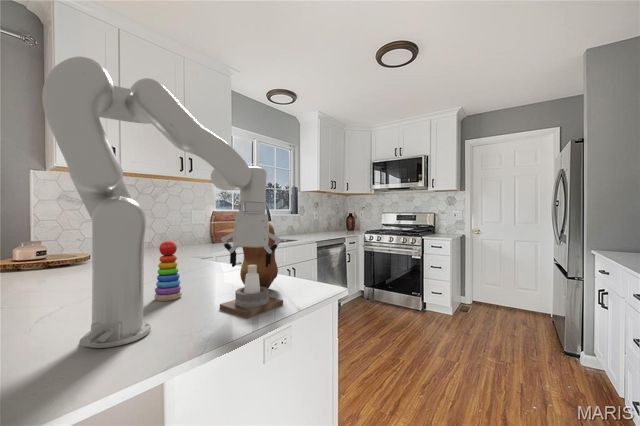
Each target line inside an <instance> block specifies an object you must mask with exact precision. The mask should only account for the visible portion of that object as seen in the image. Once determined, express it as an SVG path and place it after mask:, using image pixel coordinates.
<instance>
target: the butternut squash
mask: <svg viewBox="0 0 640 426" xmlns="http://www.w3.org/2000/svg"><path fill="white" fill-rule="evenodd" d="M269 233H271V234H273V235H275V236H276V234H275V233H276V232H275V228H274V227H273V224H272V223H271V222H269ZM274 243H275V240H273V239H271V238H269V242H268V245H269V247H270V248H271V247H272V246H273V245H274ZM241 248H242V253H243V260H242V261H243V262H242V264H241V267H240V273H239V275H240V280H241V282H242V283H243V285H244V286H245V278H246V274H247V273H248V265H257V273H258V274H259V283H260V286H261V287H266V288H268V289H270V287H271V285H272V284H273V282H274V280H275V279H276V278H277V277H278V272H279V270H278V269H279V268H278V264H277V260H276V249H275V250H274V251H273V252H272V253H271V264H268V267H266V253H267V251H266V250H265V248H264V247H241Z"/></svg>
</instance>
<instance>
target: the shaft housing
mask: <svg viewBox="0 0 640 426" xmlns="http://www.w3.org/2000/svg"><path fill="white" fill-rule="evenodd" d="M269 292H270V288H266V287H261V286H260V293H254V294H245V293H244V286H243V287H240V288H237V289H236V290H235V295H234V296H235V299H233V300H229V301H225V302H222V303H219V310H221V311H224V312H226V313H230V314H232V315H236V316H239V317H242V318H246V319H249V318H252V317H255V316H257V315H261V314H262V313H265V312H268V311H271V310H273V309H276V308H278V307H279V308H280V307H282V306H283V305H284V300H283V299H280V298H276V297H274V296H273V297H272V296H269V295H270V293H269Z"/></svg>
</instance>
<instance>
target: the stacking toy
mask: <svg viewBox="0 0 640 426" xmlns="http://www.w3.org/2000/svg"><path fill="white" fill-rule="evenodd" d="M158 248H159V249H158V250H159V253H160V254H161V256H160V257H159V264H158V270H157V274H158V275H157V277H156V279H157V281H156V283H155V285H156V288H155V290H154V292H155V295H153V296H154V300H156V301H158V302H167V301H169V302H170V301H174V300H177V299H179V298H180V297H181V296H182V295H183V292H182V291H181V289H182V287H181V285H180V284H181V279H180V274H179V267H177V266H178V262H177V260H178V258H177V257H178V256H177V255H175V253H176V252H177V249H178V248H177V244H176V243H175V242H174V241H172V240H165V241H163V242H161V244H160V245H159V247H158Z"/></svg>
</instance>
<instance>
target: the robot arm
mask: <svg viewBox="0 0 640 426" xmlns="http://www.w3.org/2000/svg"><path fill="white" fill-rule="evenodd" d="M42 87H43V88H42V96H41V97H42V107H43V108H42V109H43V111H44V114H45V118H46V121H47V124H48V125H49V128H50V130H51V133H52V135H53V137H54V140H55V142H56V143H57V146H58V148H59V151H60V152H61V154H62V157H63V158H64V161H65V163H66V166H67V168H68V172H69V173H68V174H69V177H70V179H71V181H72V183H73V185H74V187H75V189H76V191H77V193H78V195H79V197H80V199H81V200H82V203H83V205H84V207H85V210H86V211H87V213H88V215H89V217H90V218H91V220H92V222H91V226H92V231H91V232H92V241H91V242H92V243H91V245H92V246H91V248H92V249H91V253H92V255H91V259H92V261H91V270H92V271H91V272H92V273H91V275H92V276H91V277H92V279H91V281H92V282H91V283H92V285H91V287H92V288H91V289H92V290H91V293H92V294H91V295H92V296H91V310H92V311H91V325H90V331H88V332H87V333H85V334H84V335H83V336H82V338H80V339H79V344H80V346H82V347H85V348H86V347H87V348H91V349H106V348H113V347H119V346H123V345H127V344H130V343H133V342H135V341H138V340H140V339H142V338H144V337H145V336H147V335H148V334H149V333H150V332H151V328H152V325H151V324H150V322H148V321H145V320H144V285H145V283H144V277H145V274H144V273H145V272H144V270H145V267H144V261H145V260H144V255H145V254H144V253H145V251H144V249H145V236H146V225H147V220H146V219H147V218H146V214H145V211H144V209H143V207H142V206H141V205H140V204H139V202H137V200H135V199H133V198H132V197H131V195H130V192H129V190H128V188H127V186H126V183H125V181H124V179H123V178H124V177H123V176H124V170H123V168H122V165H121V163H120V162H119V160H118V158H117V156H116V154H115V152H114V150H113V147H112V146H111V143H110V141H109V139H108V137H107V135H106V133H105V129H104V127H103V125H102V122H101V120H100V118H103V119H108V120H115V121H122V122H127V123H137V124H142V125H143V124H146V125H149V124H150V125H152V126H153V127H155V128H156V129H157V131H159V133H161V134H162V135H163V136H164V137H165V138H166V139H167V140H168V141H169V142H170V143H171V144H172V145H173V146H174V147H175V148H177V149H179V150H180V151H183V152H186V153H188V154H191V155H195V156H197V157H198V158H200V159H202V160H203V161H205V162H206V163H208V165H210V166H211V167H212V168H213V170H212V171H211V174H210V180H211V183H212V184H213V186H214V187H215V188H218V190H221V191H239V203H237V204H234V209H235V210H238V211H239V212H236V214H235V217H234V218H235V219H234V225H233V232H231V233H228V234H227V235H224V236H222V237H221V238H220V240H221V242H222V245H223V246H224V248H225V250H227V251H228V252H229V264H231V267H232V268H234V267H236V266H237V251H236V250H237V249H238V248H242V247H264V248H265V250H266V251H267V253H266V267H268V264H271V253H272V252H273V251H274V250H275V251H276V249H277V248H278V246H279V245H280V243H281V241H282V238H280V237H278V236H277V235H276V234H275V235H273V234H271V233H269V223H270V222H269V215H268V213H266V205H267V203H266V202H267V175H268V174H267V171H266V169H265V168H262V167H260V166H249V165H248V163H247V162H246V160H244V159H243V157H242V156H241V155H240V154H239V153H238V152H237V150H235V148H234V147H233V146H232V145H230V144H229V143H228V142H227V141H225V140H224V139H223V138H221V137H220V136H218V135H216V134H215V133H214V132H212V131H210V130H209V129H208V128H205V127H204V126H203V125H202V124H201V123H200V122H199V121H197V119H195V117H194V116H193V115H192V114H191V113H190V112H189V111H188V110H187V109H186V108H185V107H184V106H183V104H181V103H180V101H179V100H178V99H177V98H176V97H174V95H173V94H172V93H171V92H170V91H169V90H168V88H166V87H165V86H164V85H163V84H162V83H161V82H159V81H158V80H156V79H154V78H149V77H146V78H141V79H138V80H137V81H135V82H134V83H133V84H132V86H131V87H130V88H127V87H122V86H117V85H114V82H113V80H112V78H111V76H110V74H109V72H108V71H107V70H106V69H105V68H104V66H103V65H101V64H100V63H99V62H97V61H96V60H94V59H92V58H89V57H85V56H72V57H69V58H66V59H64V60H62V61H60V62H59V63H57V65H54V66H53V68H52V69H51V70H50V72H49V73H48V74H47V76H46V78H45V80H44V84H43V86H42ZM231 238H232V244H233V245H231V244H230V243H229V242H228V240H230V239H231ZM269 238H271V239H273V240H275V243H274V245H273V246H272V247H271V248H270V247H269V245H268V242H269Z"/></svg>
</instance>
